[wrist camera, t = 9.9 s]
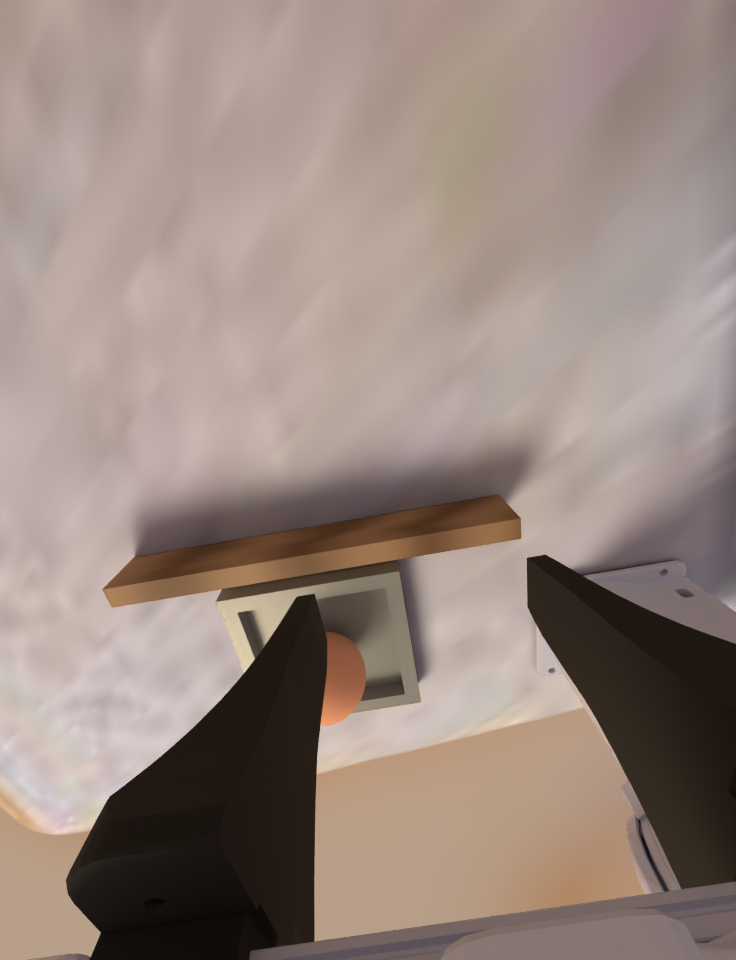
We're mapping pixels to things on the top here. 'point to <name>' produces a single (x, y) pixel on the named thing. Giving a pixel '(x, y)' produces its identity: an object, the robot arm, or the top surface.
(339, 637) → the ball
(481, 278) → the top surface
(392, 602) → the tray
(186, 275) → the top surface
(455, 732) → the top surface
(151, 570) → the wooden plank
